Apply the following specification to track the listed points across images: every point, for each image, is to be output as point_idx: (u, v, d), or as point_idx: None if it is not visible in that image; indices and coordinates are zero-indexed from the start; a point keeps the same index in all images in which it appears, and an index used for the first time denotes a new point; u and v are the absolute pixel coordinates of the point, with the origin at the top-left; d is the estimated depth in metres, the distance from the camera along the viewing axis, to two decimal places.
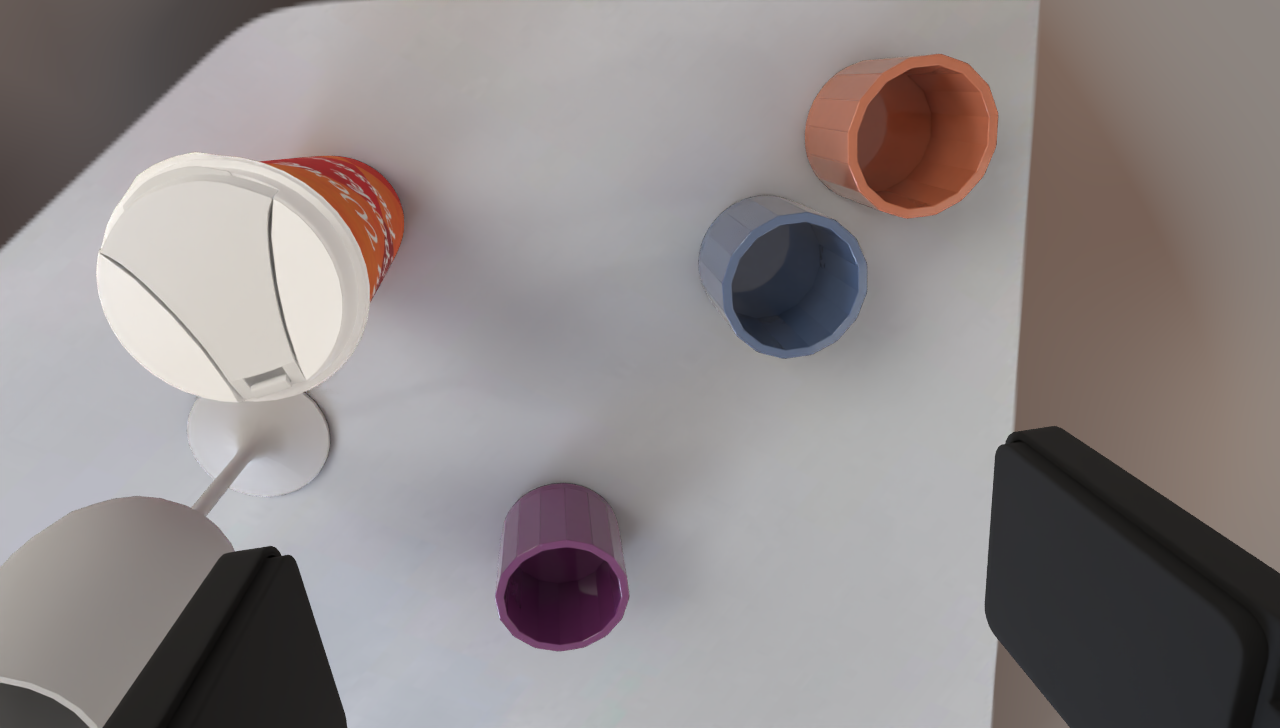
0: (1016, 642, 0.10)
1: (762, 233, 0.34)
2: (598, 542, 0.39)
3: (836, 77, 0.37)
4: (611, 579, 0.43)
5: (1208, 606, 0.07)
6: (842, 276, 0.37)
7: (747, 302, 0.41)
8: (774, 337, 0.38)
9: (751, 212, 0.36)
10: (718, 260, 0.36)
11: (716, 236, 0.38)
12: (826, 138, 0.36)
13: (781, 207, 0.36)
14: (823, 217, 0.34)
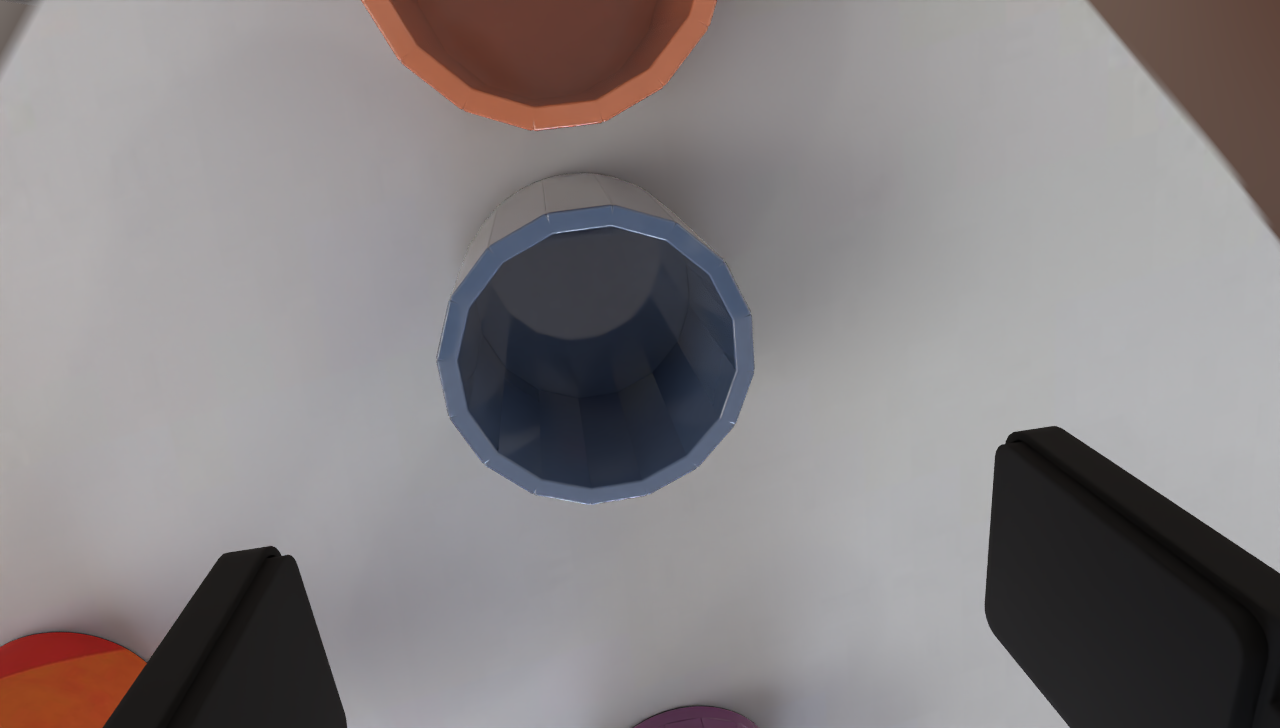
0: (1016, 642, 0.10)
1: (456, 346, 0.16)
2: None
3: None
4: None
5: (1208, 606, 0.07)
6: None
7: (618, 366, 0.22)
8: (672, 421, 0.19)
9: None
10: None
11: None
12: None
13: (475, 252, 0.17)
14: (522, 229, 0.15)
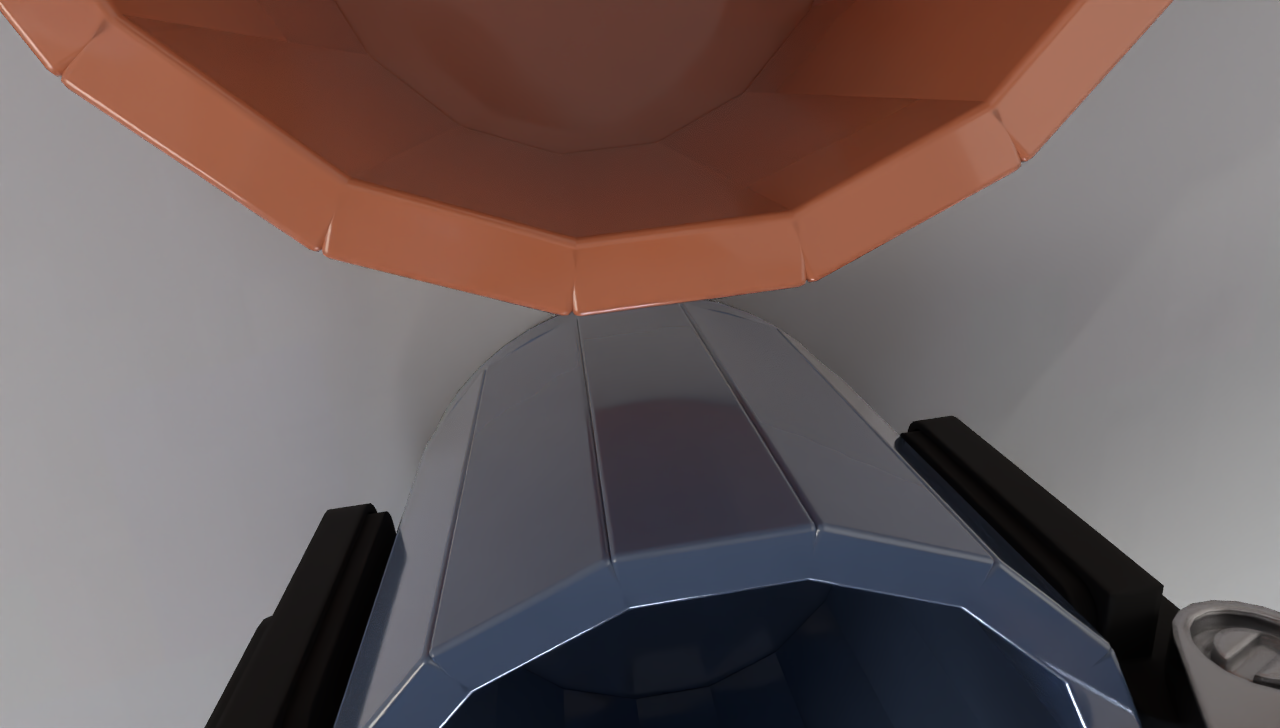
0: None
1: None
2: None
3: None
4: None
5: (1050, 577, 0.07)
6: None
7: (713, 643, 0.12)
8: None
9: None
10: None
11: None
12: None
13: (414, 557, 0.07)
14: (533, 603, 0.05)
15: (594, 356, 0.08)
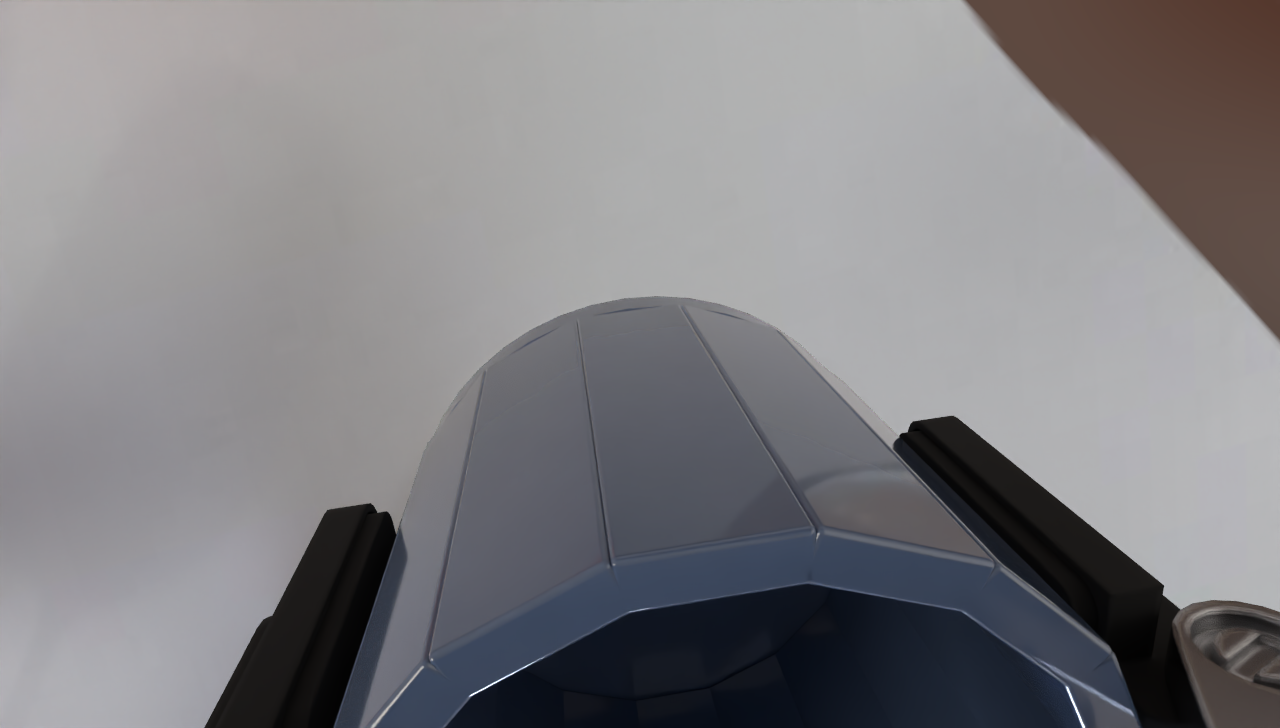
0: None
1: None
2: None
3: None
4: None
5: (1050, 577, 0.07)
6: None
7: (713, 645, 0.12)
8: None
9: None
10: None
11: None
12: None
13: (413, 560, 0.07)
14: (532, 607, 0.05)
15: (594, 358, 0.08)
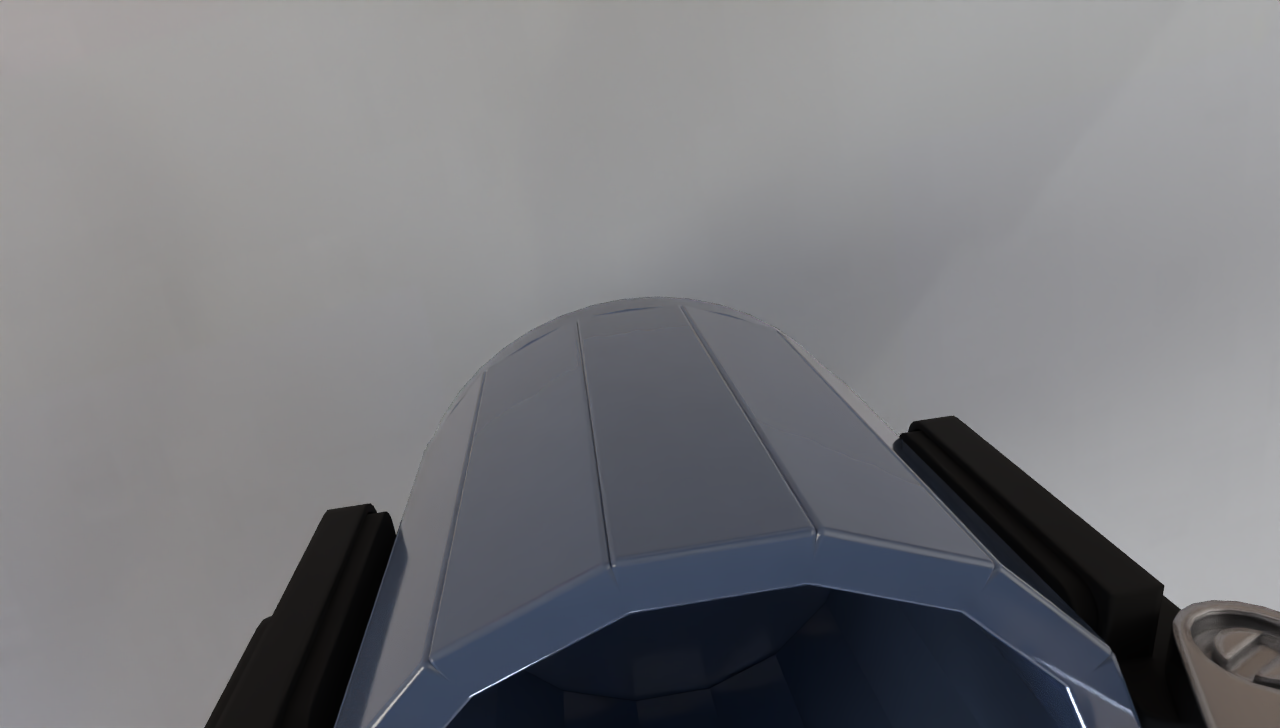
0: None
1: None
2: None
3: None
4: None
5: (1051, 578, 0.07)
6: None
7: (713, 645, 0.12)
8: None
9: None
10: None
11: None
12: None
13: (413, 561, 0.07)
14: (532, 608, 0.05)
15: (594, 358, 0.08)
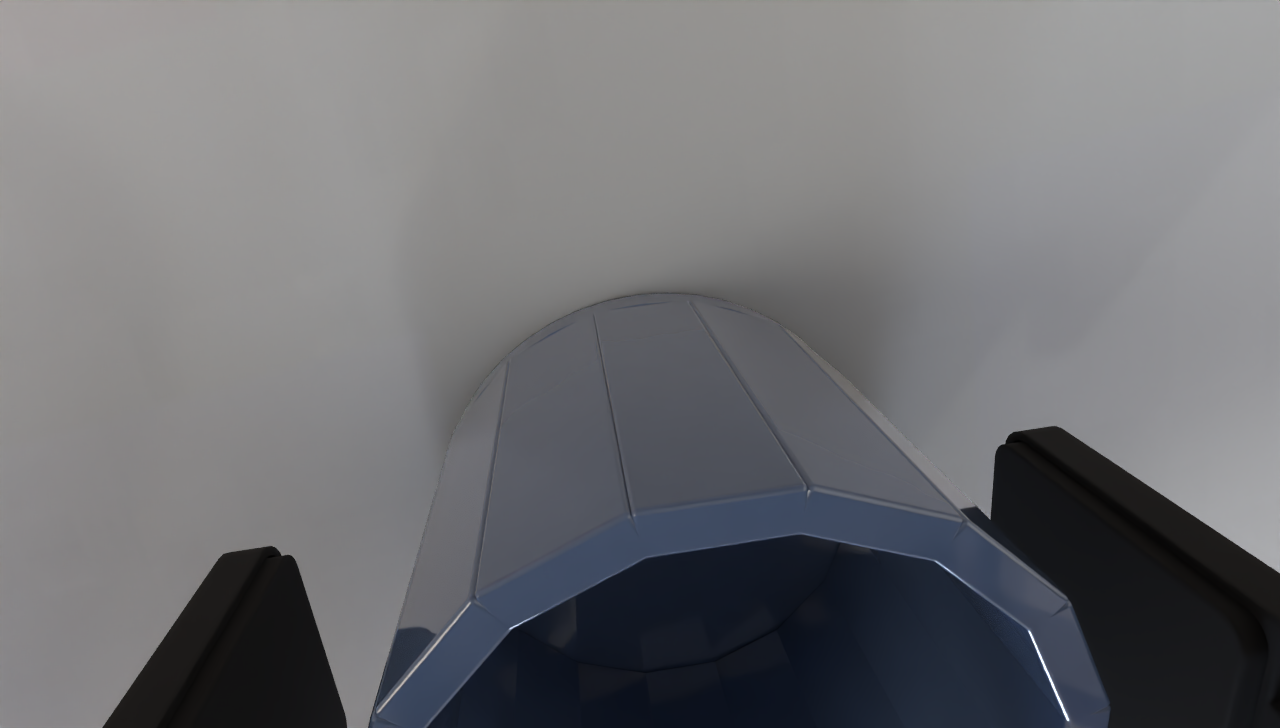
0: None
1: None
2: None
3: None
4: None
5: (1208, 606, 0.07)
6: None
7: (718, 620, 0.13)
8: None
9: None
10: None
11: None
12: None
13: (452, 524, 0.08)
14: (564, 551, 0.06)
15: (610, 347, 0.09)
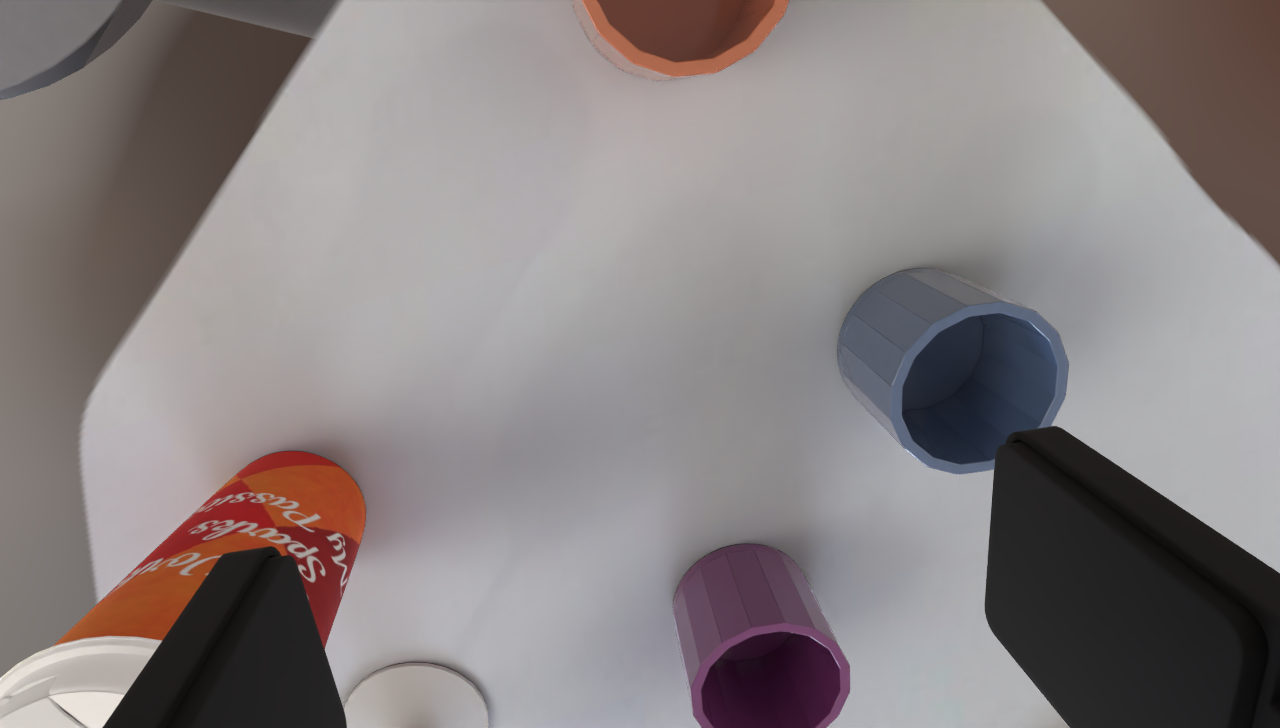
0: (1016, 642, 0.10)
1: (904, 378, 0.28)
2: (758, 617, 0.32)
3: None
4: None
5: (1208, 606, 0.07)
6: (1014, 321, 0.30)
7: (931, 391, 0.34)
8: (992, 426, 0.31)
9: (871, 344, 0.30)
10: (878, 415, 0.30)
11: (854, 380, 0.32)
12: (605, 48, 0.26)
13: (897, 323, 0.29)
14: (952, 314, 0.27)
15: (924, 281, 0.31)
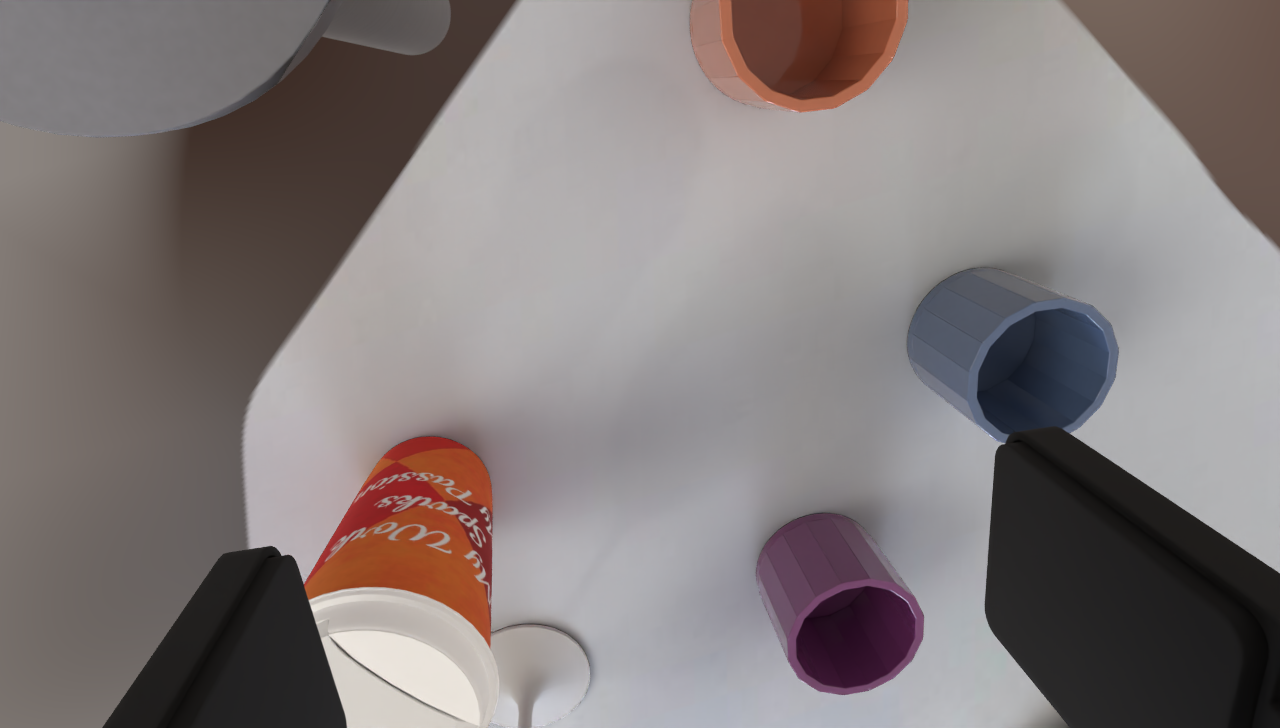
0: (1016, 642, 0.10)
1: (979, 365, 0.33)
2: (846, 574, 0.36)
3: (692, 14, 0.31)
4: None
5: (1208, 606, 0.07)
6: (1069, 314, 0.34)
7: (989, 375, 0.39)
8: (1048, 405, 0.36)
9: (945, 335, 0.35)
10: (952, 397, 0.35)
11: (927, 367, 0.37)
12: (730, 85, 0.30)
13: (970, 317, 0.34)
14: (1022, 309, 0.32)
15: (989, 280, 0.35)
